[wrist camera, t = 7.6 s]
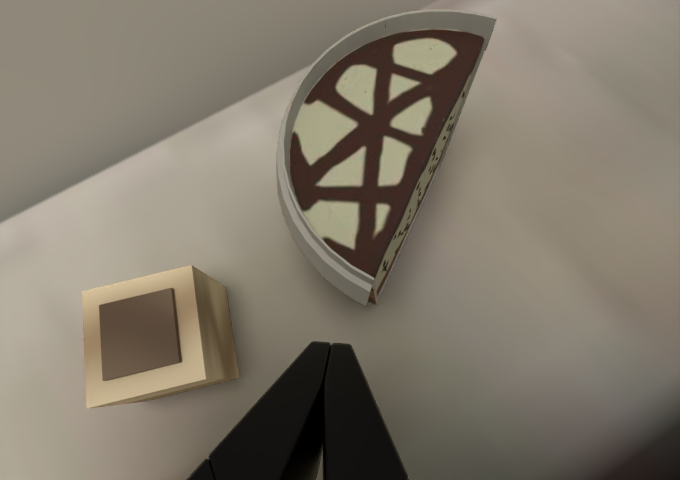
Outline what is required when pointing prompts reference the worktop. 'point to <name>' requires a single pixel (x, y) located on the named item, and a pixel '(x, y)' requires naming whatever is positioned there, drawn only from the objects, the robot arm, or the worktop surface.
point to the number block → (156, 337)
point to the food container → (374, 140)
